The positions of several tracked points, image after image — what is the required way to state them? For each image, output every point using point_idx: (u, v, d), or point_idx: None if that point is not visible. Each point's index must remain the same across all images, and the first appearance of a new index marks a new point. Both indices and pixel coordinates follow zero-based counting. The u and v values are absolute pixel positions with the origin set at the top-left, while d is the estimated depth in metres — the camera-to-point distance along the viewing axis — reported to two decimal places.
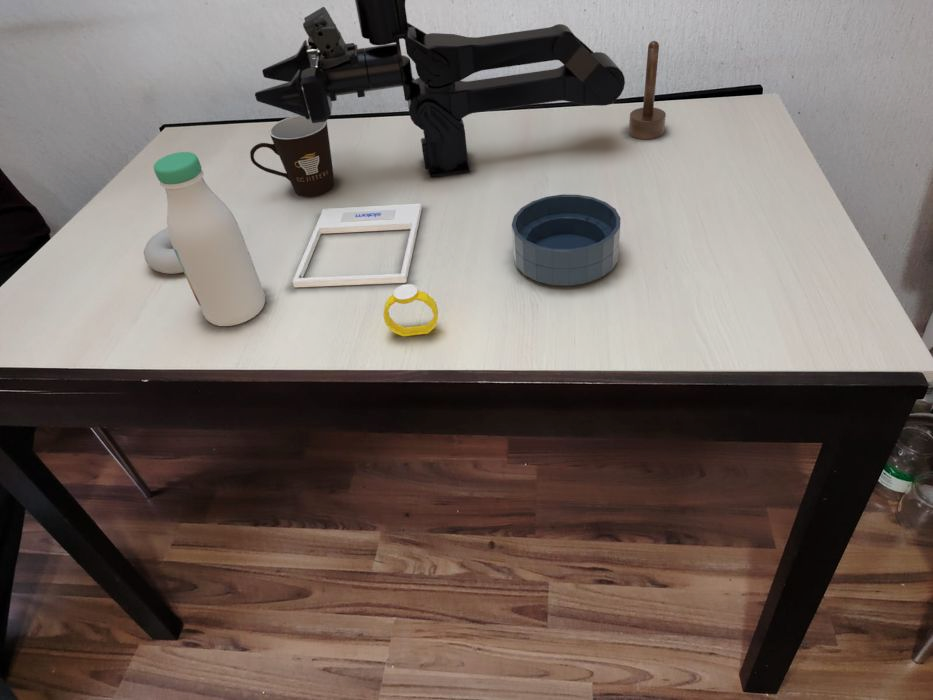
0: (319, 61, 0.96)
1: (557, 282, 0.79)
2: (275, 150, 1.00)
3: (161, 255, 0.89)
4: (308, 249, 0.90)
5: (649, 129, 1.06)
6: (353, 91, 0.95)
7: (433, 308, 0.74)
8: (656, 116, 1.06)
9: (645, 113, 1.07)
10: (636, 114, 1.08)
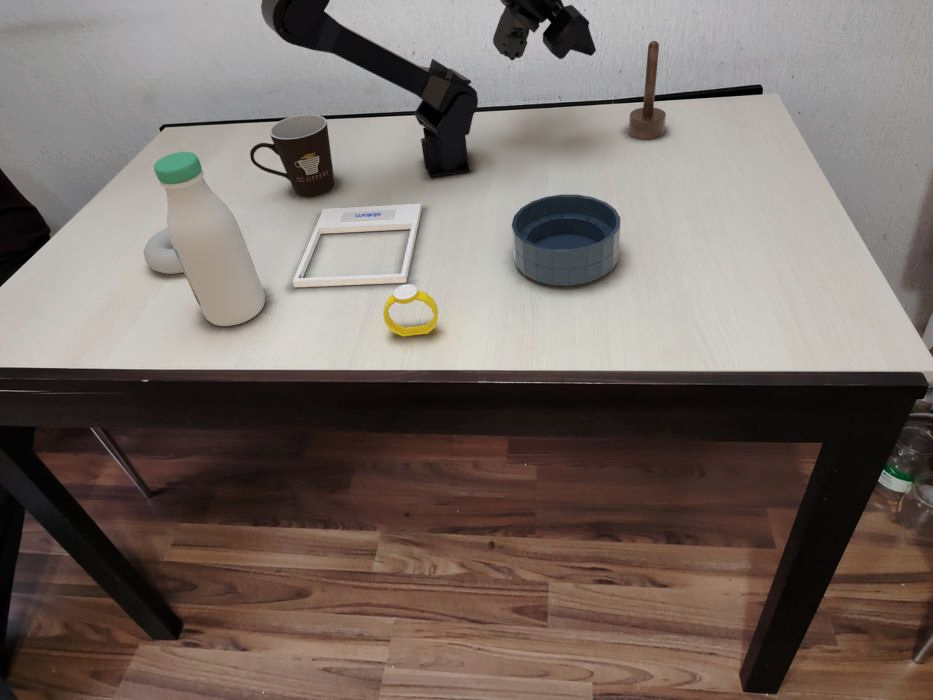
0: None
1: (557, 282, 0.79)
2: (275, 150, 1.00)
3: (161, 255, 0.89)
4: (308, 249, 0.90)
5: (649, 129, 1.06)
6: None
7: (433, 308, 0.74)
8: (656, 116, 1.06)
9: (645, 113, 1.07)
10: (636, 114, 1.08)
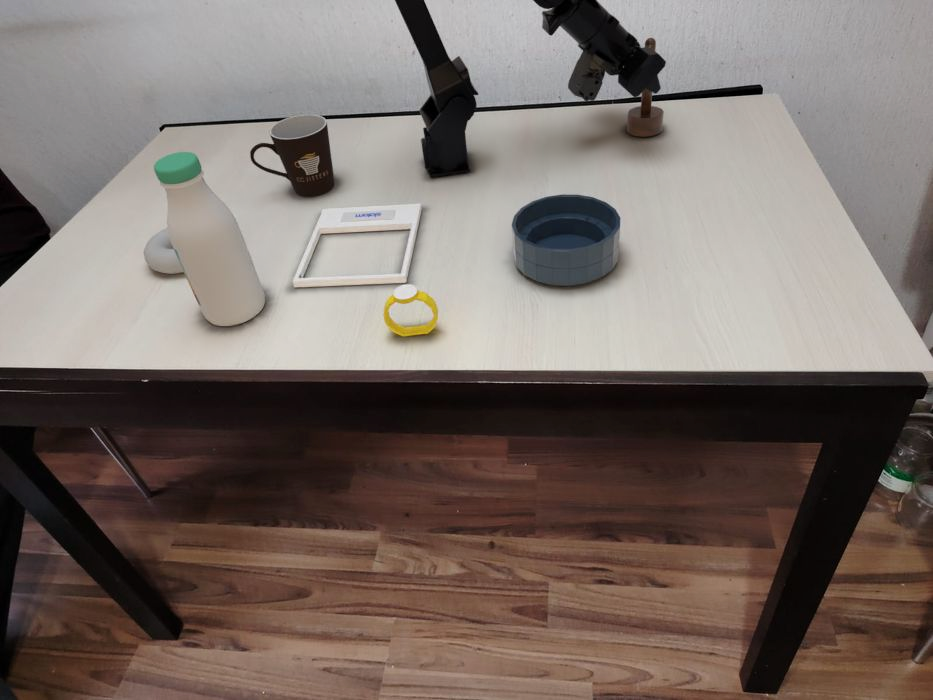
0: None
1: (557, 282, 0.79)
2: (275, 150, 1.00)
3: (161, 255, 0.89)
4: (308, 249, 0.90)
5: (647, 126, 1.06)
6: (617, 28, 0.96)
7: (433, 308, 0.74)
8: (654, 113, 1.07)
9: (643, 110, 1.07)
10: (634, 112, 1.08)
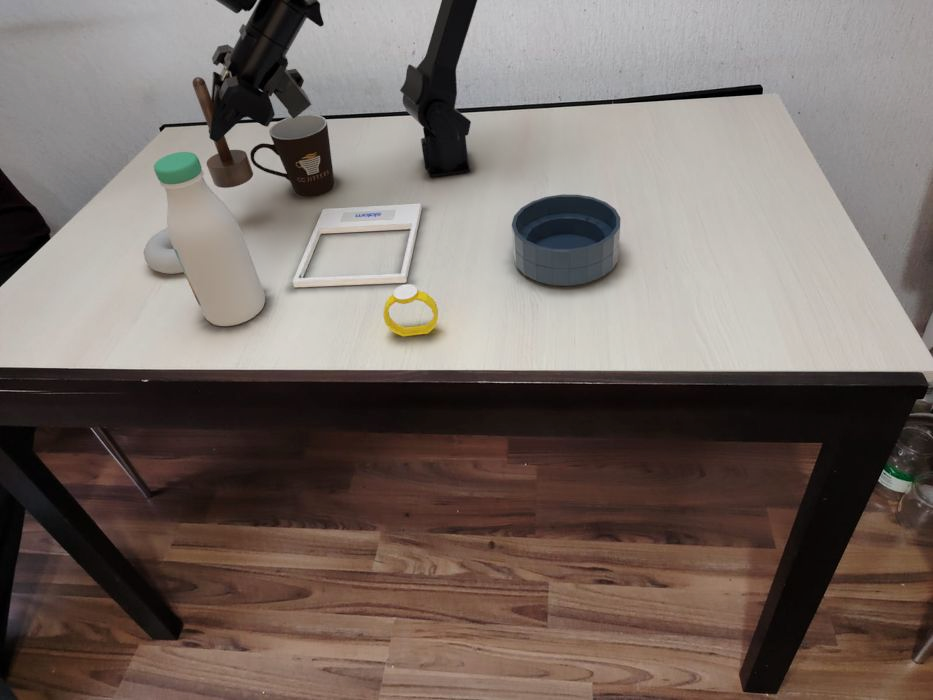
0: None
1: (557, 282, 0.79)
2: (275, 150, 1.00)
3: (161, 255, 0.89)
4: (308, 249, 0.90)
5: None
6: None
7: (433, 308, 0.74)
8: (219, 156, 0.94)
9: None
10: (238, 157, 0.93)
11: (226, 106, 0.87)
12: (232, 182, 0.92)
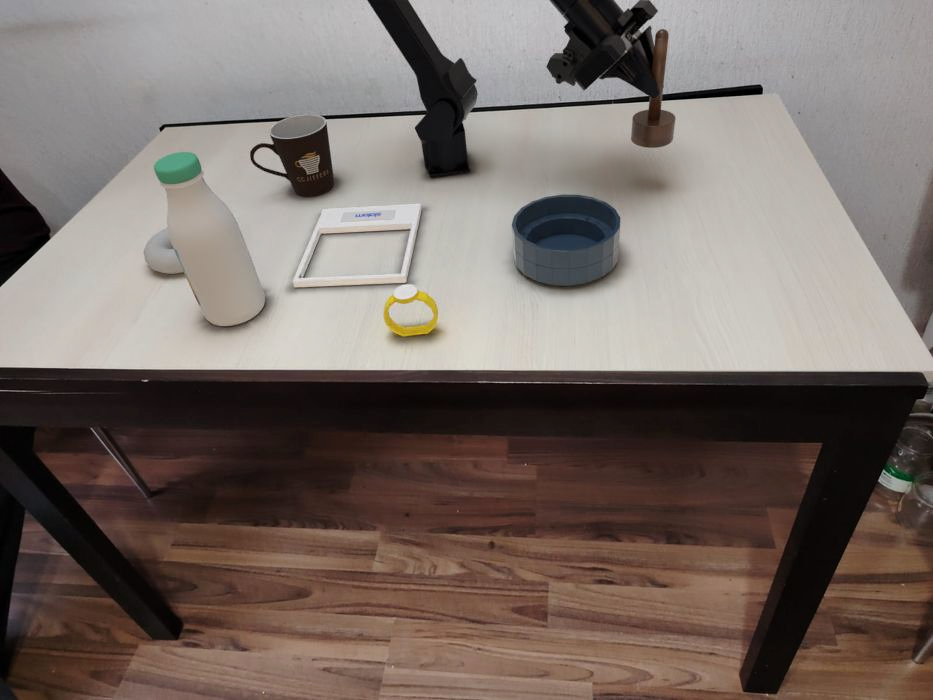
0: None
1: (557, 282, 0.79)
2: (275, 150, 1.00)
3: (161, 255, 0.89)
4: (308, 249, 0.90)
5: (642, 135, 0.89)
6: (600, 6, 0.82)
7: (433, 308, 0.74)
8: (658, 122, 0.89)
9: (649, 115, 0.89)
10: (642, 114, 0.91)
11: None
12: None
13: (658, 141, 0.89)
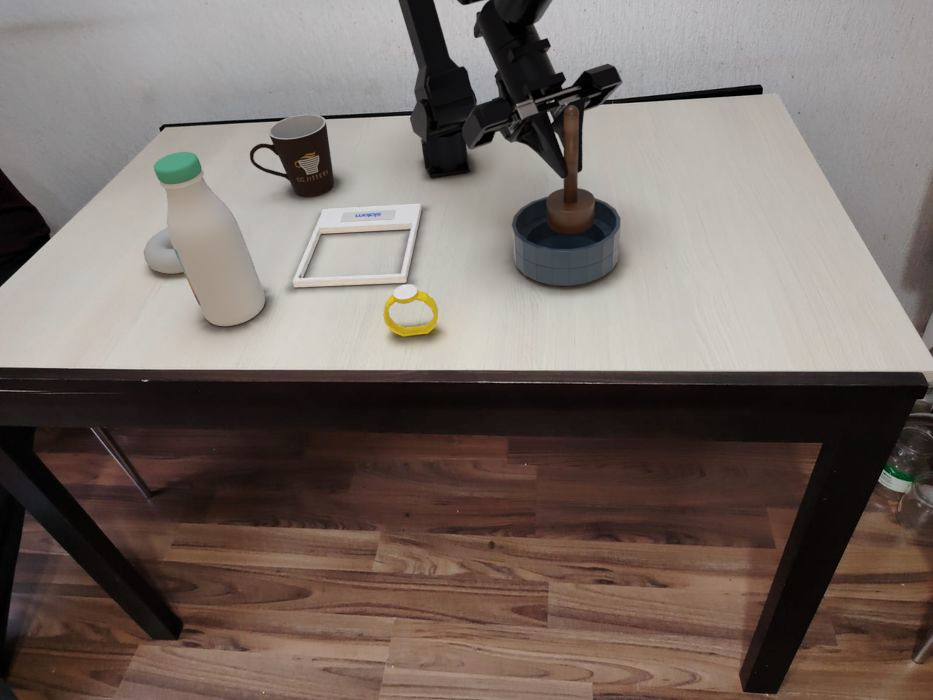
0: None
1: (557, 282, 0.79)
2: (275, 150, 1.00)
3: (161, 255, 0.89)
4: (308, 249, 0.90)
5: (548, 214, 0.79)
6: (517, 63, 0.73)
7: (433, 308, 0.74)
8: (565, 205, 0.77)
9: None
10: None
11: None
12: None
13: (560, 227, 0.78)
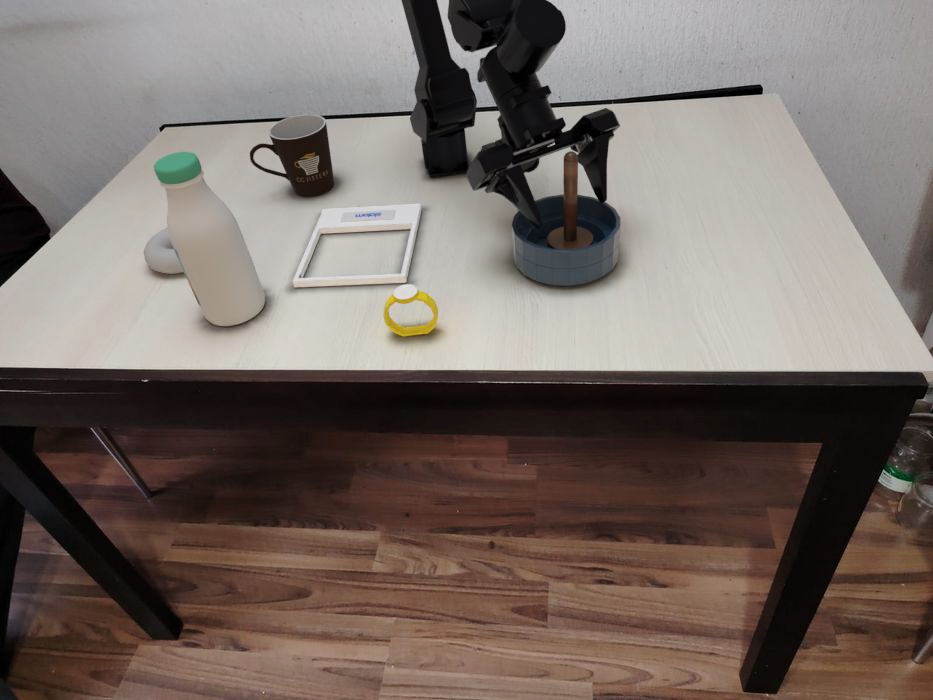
0: None
1: (557, 282, 0.79)
2: (274, 150, 1.00)
3: (161, 255, 0.89)
4: (308, 249, 0.90)
5: None
6: (519, 110, 0.77)
7: (433, 308, 0.74)
8: (565, 244, 0.81)
9: None
10: None
11: None
12: None
13: None
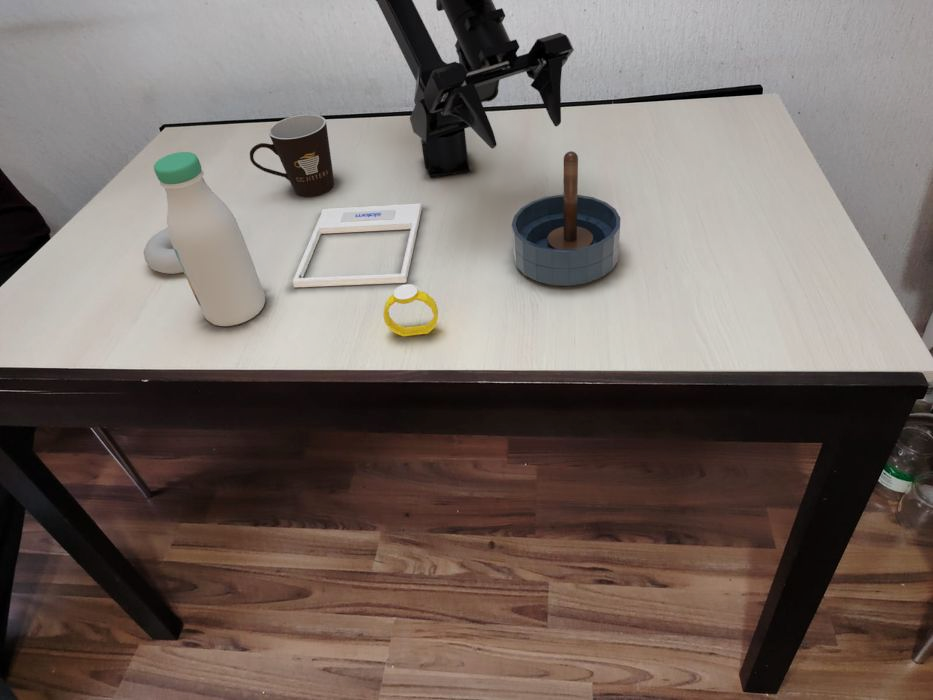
0: None
1: (557, 282, 0.79)
2: (274, 150, 1.00)
3: (161, 255, 0.89)
4: (308, 249, 0.90)
5: None
6: (473, 32, 0.79)
7: (433, 308, 0.74)
8: (565, 244, 0.81)
9: None
10: None
11: None
12: None
13: None
